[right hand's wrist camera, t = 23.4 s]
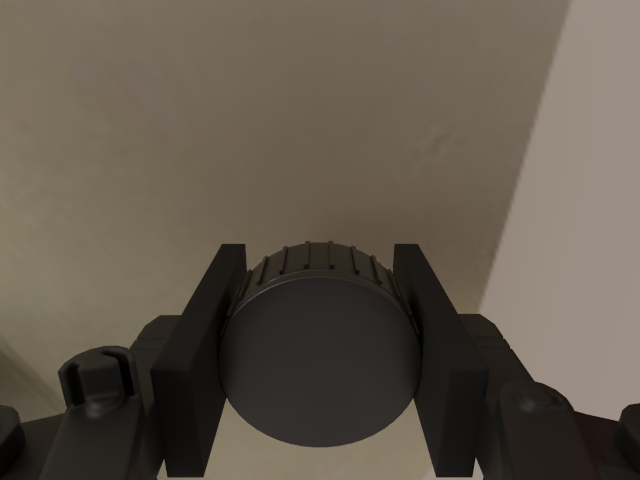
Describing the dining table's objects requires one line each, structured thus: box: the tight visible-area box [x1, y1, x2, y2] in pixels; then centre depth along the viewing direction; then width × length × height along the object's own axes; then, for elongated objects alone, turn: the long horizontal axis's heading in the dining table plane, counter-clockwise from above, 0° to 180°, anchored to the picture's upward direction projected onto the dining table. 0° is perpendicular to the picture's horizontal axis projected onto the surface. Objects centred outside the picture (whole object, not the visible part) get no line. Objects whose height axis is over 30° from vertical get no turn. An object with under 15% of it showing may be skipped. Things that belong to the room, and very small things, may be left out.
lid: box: [217, 241, 422, 447], centre depth 11 cm, size 5×5×2 cm
